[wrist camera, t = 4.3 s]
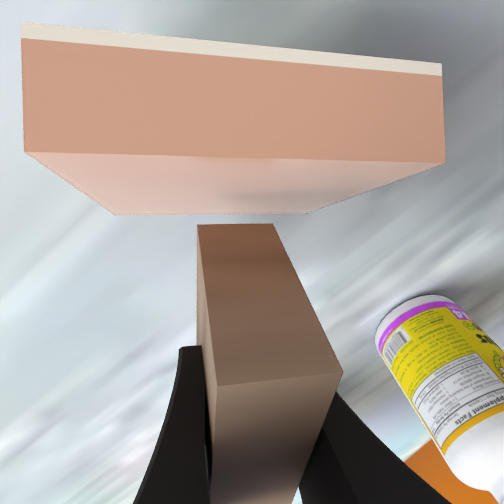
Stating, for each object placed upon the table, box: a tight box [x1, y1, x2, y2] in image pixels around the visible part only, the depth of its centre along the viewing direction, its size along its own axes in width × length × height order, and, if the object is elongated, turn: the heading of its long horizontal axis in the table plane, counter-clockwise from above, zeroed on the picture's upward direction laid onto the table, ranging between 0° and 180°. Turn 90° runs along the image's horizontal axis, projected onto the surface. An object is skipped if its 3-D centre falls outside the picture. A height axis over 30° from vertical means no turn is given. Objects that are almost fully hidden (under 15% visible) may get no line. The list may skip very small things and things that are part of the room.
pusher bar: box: [197, 224, 343, 504], centre depth 11 cm, size 8×2×6 cm, turn 174°
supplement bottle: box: [375, 295, 504, 504], centre depth 21 cm, size 7×7×13 cm
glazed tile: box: [21, 22, 446, 215], centre depth 12 cm, size 2×9×9 cm
